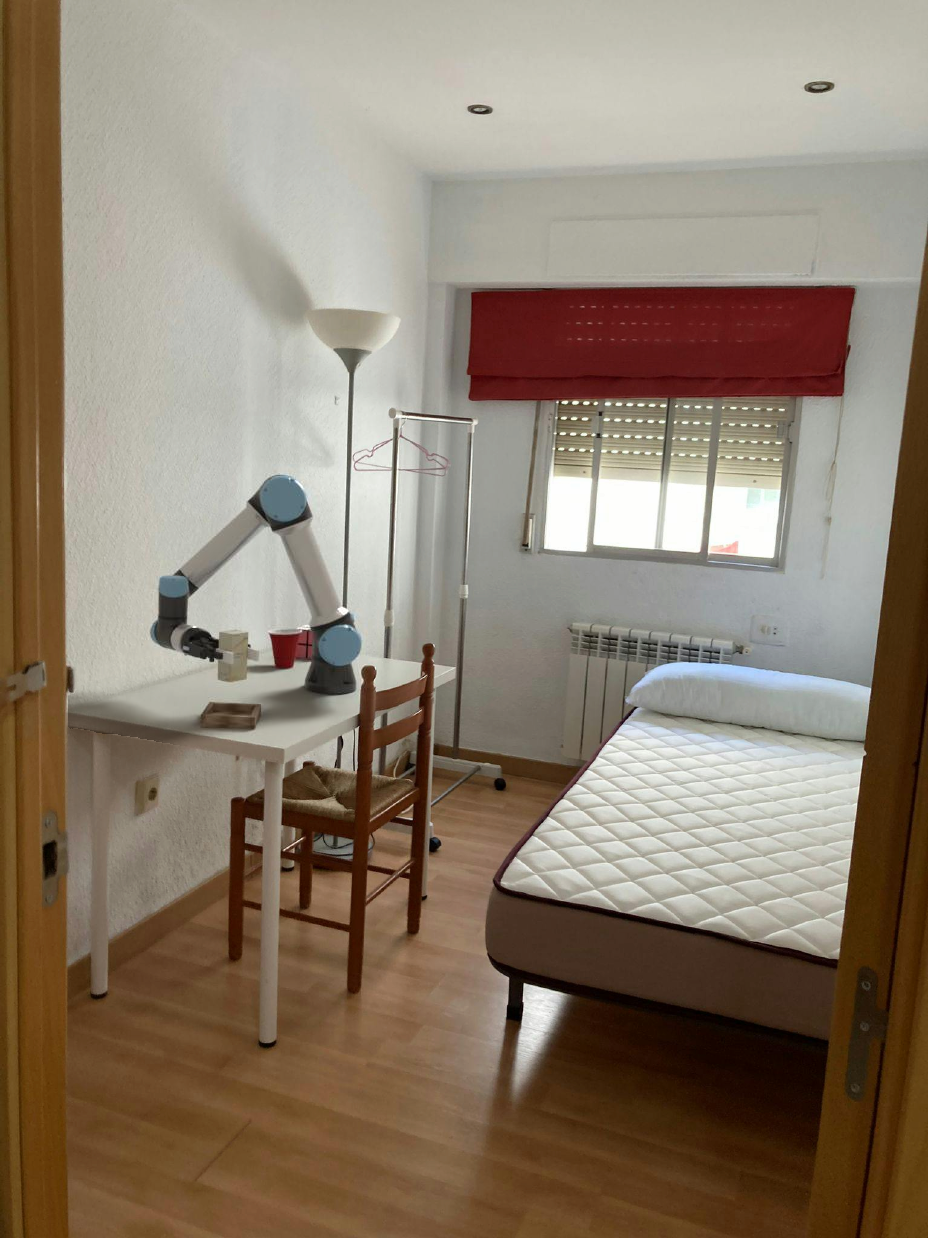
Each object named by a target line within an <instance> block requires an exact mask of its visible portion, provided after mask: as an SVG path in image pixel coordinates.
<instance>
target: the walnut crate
mask: <svg viewBox="0 0 928 1238" xmlns="http://www.w3.org/2000/svg"><path fill="white" fill-rule="evenodd" d="M261 716H262V704H261V703H245V702H242V703H241V702H240V703H239V702H221V701H209V702H208V703H207V705H206V707H204V709H203V711H202V712H201V714H200V719H199V721H200V724H199V725H200V726H199V727H200V728H217V729H236V728H239V730H244V729H245V730H255V729H256V727H257V725H258V723H259V720H260V717H261Z"/></svg>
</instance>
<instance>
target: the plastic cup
mask: <svg viewBox="0 0 928 1238" xmlns="http://www.w3.org/2000/svg"><path fill="white" fill-rule="evenodd" d="M301 632H302V630H299V629H295V628H278V629H277V628H276V629H271V630H268V631H267V633H268V634H269V637H270V642H271V648H272V650H271V651H272V656H273V662H274V667H275V668H277V667H279V668H278V669H291V667H292V668H294V665H295V660H296V658H295V657H296V653H297V647H298V642H299V638H300V635H301Z"/></svg>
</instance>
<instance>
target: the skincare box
mask: <svg viewBox="0 0 928 1238" xmlns="http://www.w3.org/2000/svg"><path fill="white" fill-rule="evenodd" d="M218 639H219V649H222V650H225V651H228V652H232V653H234V662H233V664H228V663H225V662H222V661H219V660H217V680H218V681H221V682H226V683H234V682H240V681H244V680H245V681H246V680H247V679H248V675H247V674H248V659H247V658H248V644H249V631H247V630H246V631H245V630H240V629H233V630H232V629H231V630H223V631H218Z"/></svg>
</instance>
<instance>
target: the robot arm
mask: <svg viewBox="0 0 928 1238" xmlns="http://www.w3.org/2000/svg"><path fill="white" fill-rule="evenodd" d="M245 505H246V506H245V508H244V509H243V510H242V511H240V513H238V514H237V515H236V516H235V517H234V518H233V519H231V520H230V522H229V523H227V524H226V525H225V526H224V527H223V528H222V529H220V531H219V532H218V533H216V535H214V536H213V537H212V538H211V539H210V540H208V542H207V543H206V544H205V545H204V546H202V547H201V548H200V549H199V550H197V552H196V553H195V554H194V555H193V556H191V558H189V559H188V560H187V561H186V562H185V563H183V565H182V566H181V567H180V568H179V569H178V570H176V572H175V573H173V574H171V575H162V576H161V577H159V580H158V588H157V590H158V605H157V607H158V609H157V611H158V614H157V619H156V620H155V621H154V622H153V623H152V625H151V627H150V630H149V631H150V632H149V634H150V638H151V640H152V641H153V642H154V643H155V644H157V645H159V646H160V647H162V648H164V649H168V650H172V651H176V652H178V653H181V654H183V655H184V656H190V657H192V658H199V659H201V660H203V661H204V660H207V659H209V661H208V662H209V663H214V662H215V660H216V661H218V660H219V661H222V662H225V663H228V664H233V662H234V653H232V652H228V651H225V650H222V649H219V638H216V637H213V636H212V634H211V633H210V632H209V631H208V630H206V629H204V628H200V627H197V626H196V625H195V626H194V625H190V624H188V610H189V609H188V607H189V606H188V605H189V598H191V597H192V596H193V595H194V594H195V593H196V592H197V591H198V590H199V589H200V588H201V587H202V586H203V585H204V584H205V583H207V582H208V581H209V580H210V579H211V578H212V577H213V576H214V575H216V574H217V572H219V571H220V570H221V568H223V567H224V566H225V565H226V564H228V563H229V561H230V560H231V559H233V557H235V556H236V555H237V554H238V553H240V551H241V550H242V549H244V547H246V546H247V545H248V544H249V543H250V542H251V541H252V540H253V539H255V537H257V536H258V535H259V534H260V533H261V532H262V531H263V530H264V529H266V528H270V529H271V532H272V533H274V534H276V535H278V536H279V537H280V539H281V542H282V544H283V546H284V549H285V552H286V554H287V557H288V559H289V563H290V564H291V568H292V570H293V572H294V575H295V578H296V580H297V583H298V584H299V587H300V590H301V592H302V595H303V597H304V600H305V603H306V606H307V608H308V610H309V613H310V616H311V619H310V621H309V623H308V625H309V626H310V628H311V631H312V634H313V643H312V660H311V663H310V666H309V668H308V670H307V673H306V675H305V679H304V689H305V690H307V691H310V692H314V693H318V694H330V695H335V694H336V695H339V694H349V693H353V692H354V691H356V690H357V678H356V675H355V671H354V668H353V663H352V662H354V661H355V660H356V659H357V658H358V657H359V655H360V654H361V650H362V643H363V640H362V637H361V635H360V633H359V631H358V630H357V629H356V624H355V615H354V613H353V612H351V611H350V610H349V609H348V608H346V607H344V606H342V605H341V601H340V599H339V596H338V594H337V592H336V591H337V590H336V589H335V586H334V584H333V581H332V578H331V576H330V572H329V571H328V568H327V565H326V562H325V561H324V560H325V559H324V557H323V555H322V553H321V549H320V547H319V545H318V541H317V539H316V537H315V535H314V531H313V528H312V527H311V523H312V520H313V519H314V515H313V513H312V510H311V507H310V504H309V503H308V500H307V493H306V490H305V488H304V486H303V485H302V483H300V481H299V480H298V479H296V478H295V477H292V476H291V475H286V474H275V475H272V476H270V477H268V478H267V479H265V480H264V482H262V484H261V485H260V486H259V488H258V489H257V491H256V492H255V493H254V494H253V495H252V496H251V497H250V498H249V499H248V500H247V501H246V504H245ZM247 660H251V661H254V662H260V650H259V649H255V648H252V646H251V644H250V643H248V658H247Z"/></svg>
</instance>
